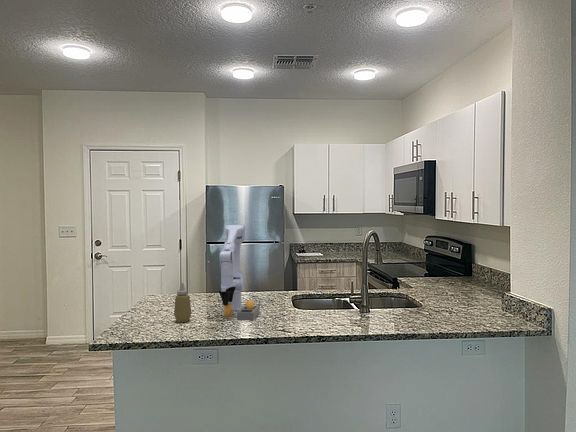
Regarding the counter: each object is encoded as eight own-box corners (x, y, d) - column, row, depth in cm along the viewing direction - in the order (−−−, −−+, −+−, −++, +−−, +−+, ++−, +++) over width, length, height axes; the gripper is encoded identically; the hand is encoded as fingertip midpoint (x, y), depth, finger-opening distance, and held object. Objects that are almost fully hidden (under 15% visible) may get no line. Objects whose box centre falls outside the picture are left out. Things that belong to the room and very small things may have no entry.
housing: (237, 319, 215) (236, 306, 215) (244, 312, 229) (243, 299, 229) (253, 320, 214) (253, 306, 214) (259, 312, 228) (259, 299, 227)
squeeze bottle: (195, 319, 217) (194, 281, 216) (185, 324, 209) (184, 284, 209) (180, 318, 220) (179, 281, 219) (170, 322, 212) (169, 284, 211)
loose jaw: (222, 317, 220) (222, 305, 220) (225, 315, 224) (224, 303, 224) (231, 317, 219) (230, 305, 219) (233, 315, 223) (232, 303, 223)
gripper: (231, 278, 213) (231, 307, 214) (238, 273, 228) (239, 300, 228) (216, 278, 214) (217, 306, 215) (225, 273, 229) (225, 300, 229)
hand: (227, 303), depth 221 cm, fingers open, 7 cm apart
